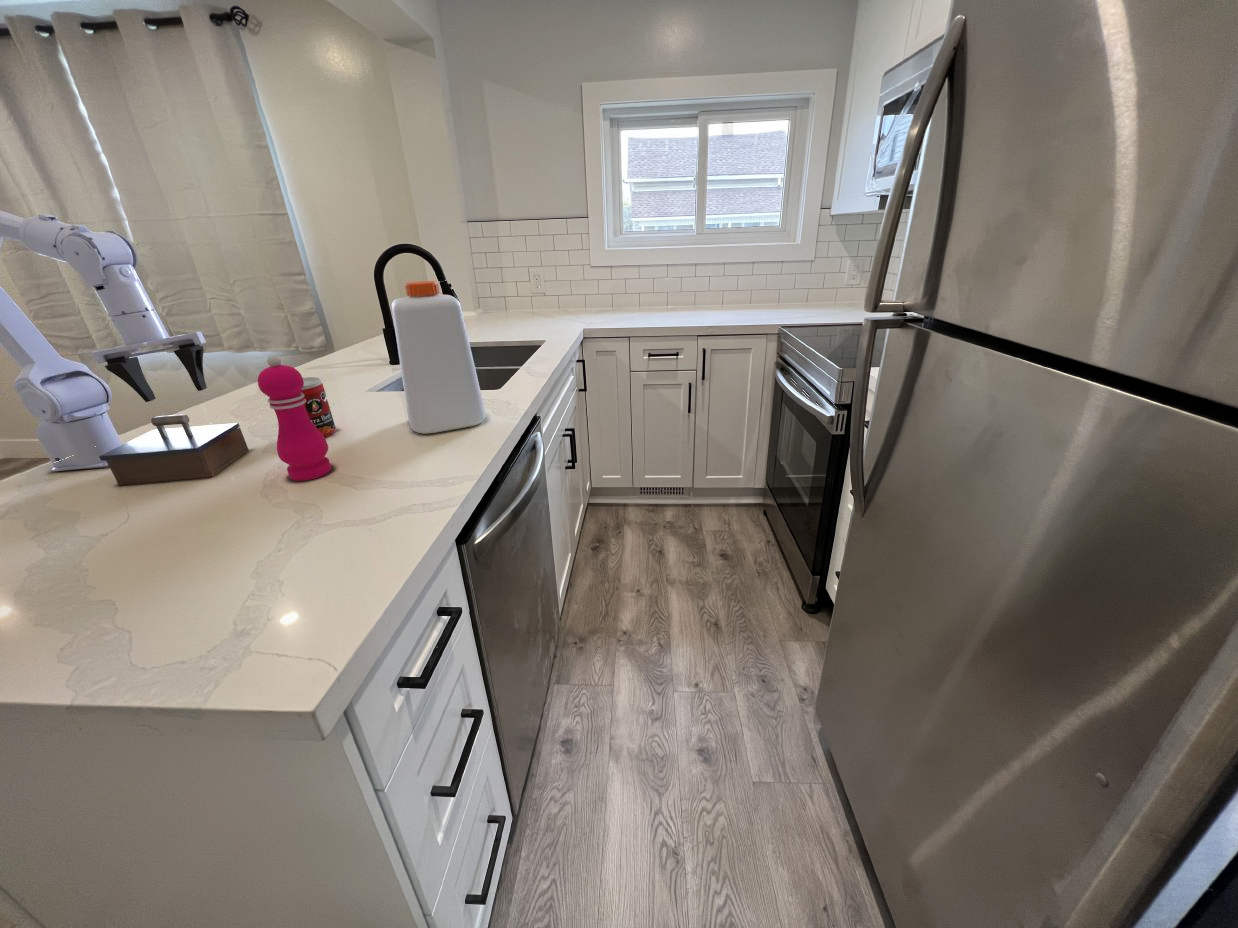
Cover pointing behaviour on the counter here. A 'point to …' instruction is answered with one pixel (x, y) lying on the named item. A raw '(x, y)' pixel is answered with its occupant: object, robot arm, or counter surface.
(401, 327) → the plastic bottle
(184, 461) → the chest
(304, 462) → the pepper mill
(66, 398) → the robot arm
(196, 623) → the counter surface
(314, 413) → the canned food
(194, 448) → the lid
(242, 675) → the counter surface
